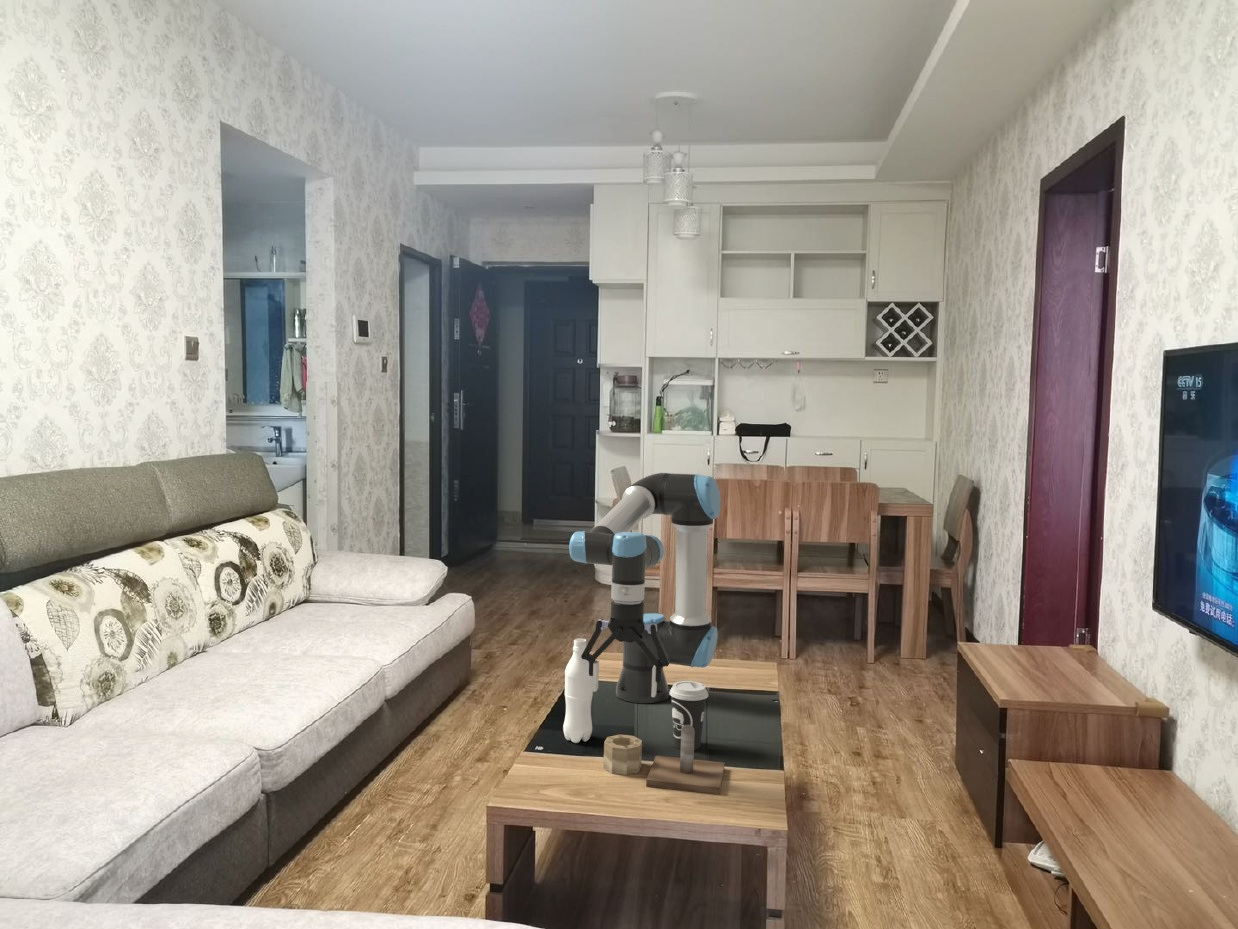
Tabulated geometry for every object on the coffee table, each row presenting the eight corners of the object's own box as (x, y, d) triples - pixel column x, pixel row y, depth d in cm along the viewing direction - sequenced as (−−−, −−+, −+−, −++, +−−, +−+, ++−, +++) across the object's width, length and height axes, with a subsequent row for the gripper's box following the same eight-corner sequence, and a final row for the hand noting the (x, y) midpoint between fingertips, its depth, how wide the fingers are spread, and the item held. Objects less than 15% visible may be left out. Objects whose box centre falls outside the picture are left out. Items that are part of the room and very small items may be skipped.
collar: (608, 758, 211) (609, 733, 211) (642, 762, 209) (643, 737, 209) (601, 772, 203) (602, 746, 203) (637, 776, 201) (637, 750, 201)
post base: (655, 761, 210) (657, 711, 209) (724, 769, 207) (726, 718, 206) (646, 786, 196) (648, 732, 195) (719, 794, 193) (721, 740, 192)
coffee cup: (704, 755, 215) (706, 693, 214) (664, 750, 217) (666, 690, 216) (708, 740, 224) (710, 681, 223) (670, 736, 226) (672, 678, 225)
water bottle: (557, 739, 222) (559, 639, 221) (577, 731, 228) (580, 634, 226) (577, 747, 217) (580, 645, 216) (597, 739, 223) (600, 640, 221)
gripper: (570, 600, 202) (567, 692, 203) (680, 608, 198) (676, 702, 199) (578, 593, 210) (575, 683, 211) (684, 601, 205) (680, 692, 206)
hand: (624, 692), depth 205 cm, fingers open, 13 cm apart
